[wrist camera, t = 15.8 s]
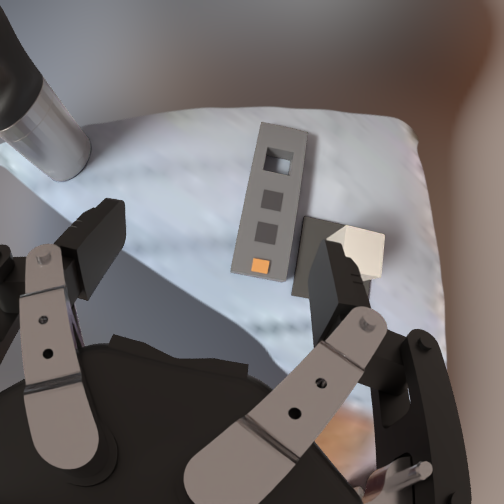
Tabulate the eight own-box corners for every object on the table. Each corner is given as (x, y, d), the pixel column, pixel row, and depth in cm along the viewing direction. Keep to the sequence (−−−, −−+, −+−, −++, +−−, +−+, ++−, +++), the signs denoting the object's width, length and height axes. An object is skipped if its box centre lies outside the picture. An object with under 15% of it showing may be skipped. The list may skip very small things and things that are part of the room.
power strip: (230, 272, 40) (230, 270, 37) (259, 130, 44) (261, 120, 41) (282, 282, 40) (286, 280, 37) (303, 140, 44) (308, 130, 41)
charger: (317, 277, 40) (340, 269, 31) (322, 241, 41) (346, 224, 32) (350, 283, 40) (380, 277, 31) (354, 248, 41) (384, 234, 32)
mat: (291, 295, 40) (292, 295, 39) (303, 217, 42) (304, 216, 41) (364, 307, 40) (366, 307, 40) (373, 233, 42) (374, 232, 42)
